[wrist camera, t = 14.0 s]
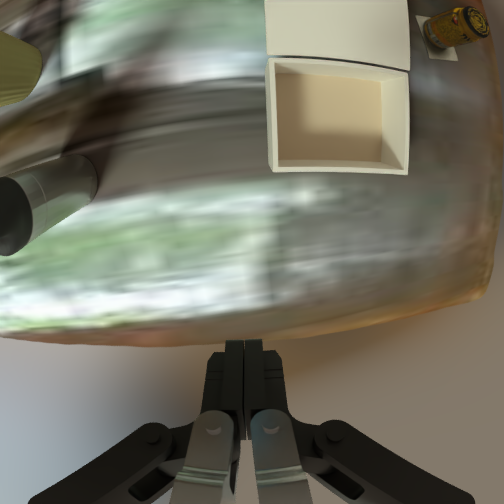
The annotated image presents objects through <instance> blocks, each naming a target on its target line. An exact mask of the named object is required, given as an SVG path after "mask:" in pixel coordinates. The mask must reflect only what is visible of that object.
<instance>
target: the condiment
mask: <svg viewBox="0 0 504 504" xmlns="http://www.w3.org/2000/svg"><path fill="white" fill-rule="evenodd" d="M415 16H416V19H417V22H418V25H419V27H420V31H421V33H422V36H423V38H424V41H425V45H426V48H427V51H428V53H429V57H430V59H442V60H452V61H458V59H457V55H456V51H455V49H454V46H458V45H462V44H467V43H472V42H476V41H478V40H479V39H481V38H485V37H487V36H488V35H489V26H488V24H487V21H486V19H485V18H484V16H483V15H482V14H481V13H480V12H479V11H478V10H477V9H476V8H473V7H470V6H468V7H465V8H454V9H452V10H449V11H447V12H444V13H442V14H439V15H437V16H434V17H432V18H430V17H424V16H417V15H415ZM447 48H448V49H447ZM446 49H447V51H446Z"/></svg>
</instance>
